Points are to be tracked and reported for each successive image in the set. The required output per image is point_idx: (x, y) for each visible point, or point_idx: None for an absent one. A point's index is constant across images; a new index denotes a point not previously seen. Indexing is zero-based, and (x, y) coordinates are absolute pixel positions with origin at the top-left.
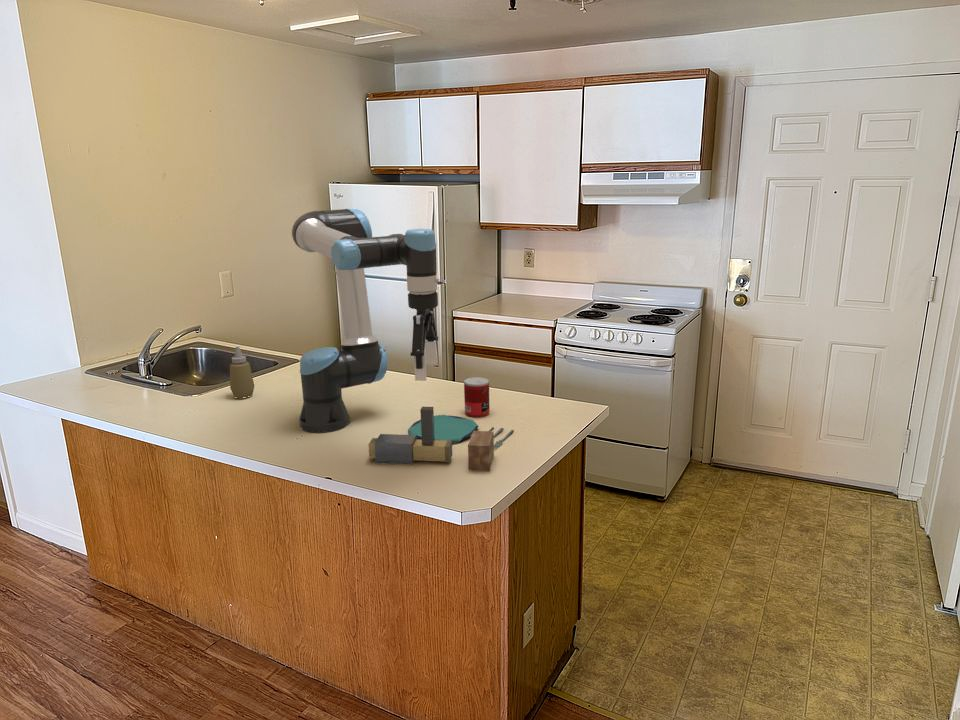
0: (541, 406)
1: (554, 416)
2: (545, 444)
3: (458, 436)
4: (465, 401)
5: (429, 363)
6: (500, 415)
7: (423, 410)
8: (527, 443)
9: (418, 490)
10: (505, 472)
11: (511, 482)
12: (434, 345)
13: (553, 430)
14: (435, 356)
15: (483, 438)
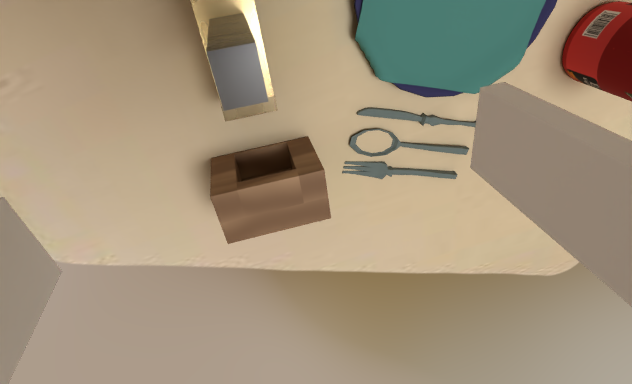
0: None
1: None
2: (390, 248)
3: (409, 58)
4: (628, 17)
5: (486, 125)
6: None
7: (211, 68)
8: (392, 219)
9: (16, 79)
10: None
11: (189, 255)
12: (625, 295)
13: (462, 239)
14: (523, 210)
15: (274, 214)
